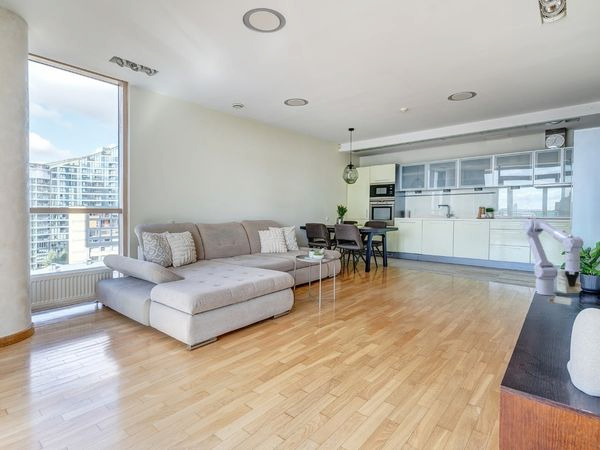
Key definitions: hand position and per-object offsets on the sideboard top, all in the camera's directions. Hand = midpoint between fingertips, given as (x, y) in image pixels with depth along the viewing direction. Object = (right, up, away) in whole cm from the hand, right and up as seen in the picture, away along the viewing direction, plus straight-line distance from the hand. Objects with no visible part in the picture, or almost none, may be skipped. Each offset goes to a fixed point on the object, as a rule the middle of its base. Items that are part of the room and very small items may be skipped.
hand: (571, 285), depth 162 cm
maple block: (+1, -2, 0) cm, 2 cm away
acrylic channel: (-6, -9, -1) cm, 10 cm away
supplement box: (+15, -8, +19) cm, 25 cm away
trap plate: (-9, -9, +2) cm, 13 cm away
